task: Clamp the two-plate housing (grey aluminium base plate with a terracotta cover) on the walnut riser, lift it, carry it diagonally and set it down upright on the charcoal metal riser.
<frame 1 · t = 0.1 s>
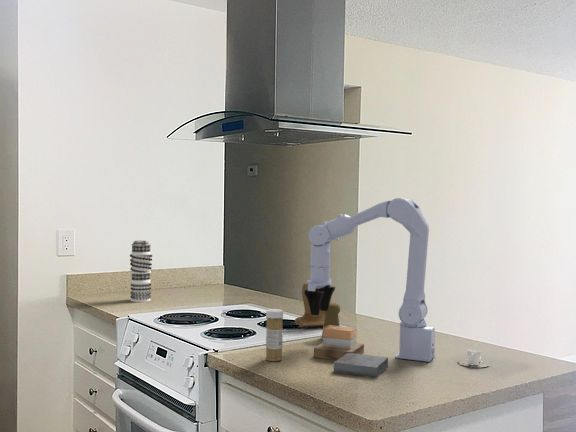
hand: (319, 312, 183), 10 cm above the counter, tool pointing down, fingers open, 7 cm apart
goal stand: (361, 369, 159), on the counter
housing: (339, 345, 174), point 2 cm above the counter, touching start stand
olive tapered column: (331, 338, 195), on the counter
tan boot: (313, 326, 214), on the counter
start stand: (339, 354, 174), on the counter
decorative candle: (140, 300, 262), on the counter
teacup and saucer: (484, 366, 166), on the counter
sprinkles bottle: (273, 360, 167), on the counter
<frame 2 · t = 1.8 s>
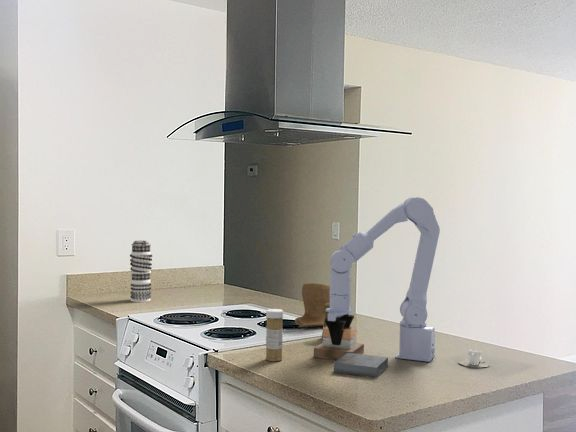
hand: (339, 342, 174), 3 cm above the counter, tool pointing down, fingers closed on housing, 5 cm apart
housing: (339, 345, 174), point 2 cm above the counter, touching gripper, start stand
everything else where it was.
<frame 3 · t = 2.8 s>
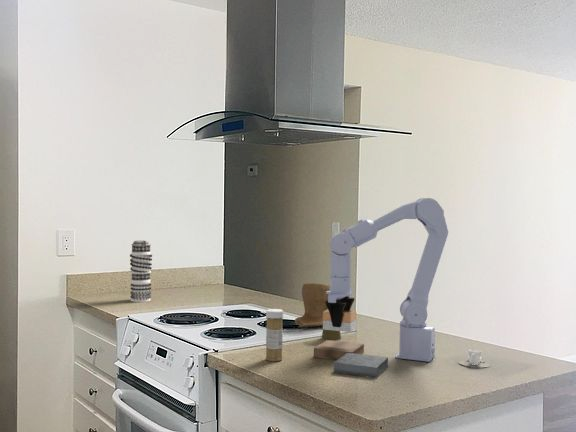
hand: (339, 325, 174), 8 cm above the counter, tool pointing down, fingers closed on housing, 5 cm apart
housing: (339, 329, 174), point 7 cm above the counter, touching gripper
everything else where it was.
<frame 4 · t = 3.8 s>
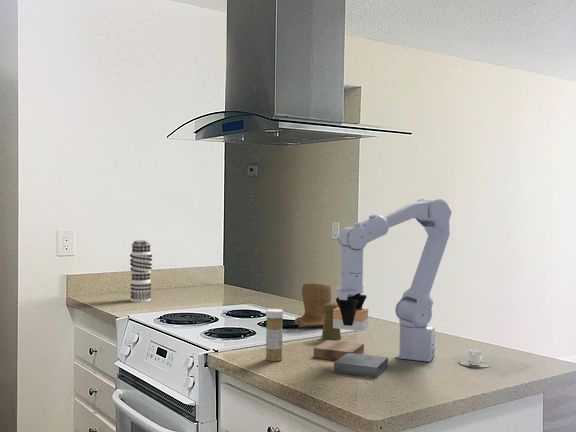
hand: (351, 323, 166), 10 cm above the counter, tool pointing down, fingers closed on housing, 5 cm apart
housing: (350, 327, 166), point 9 cm above the counter, touching gripper
everything else where it was.
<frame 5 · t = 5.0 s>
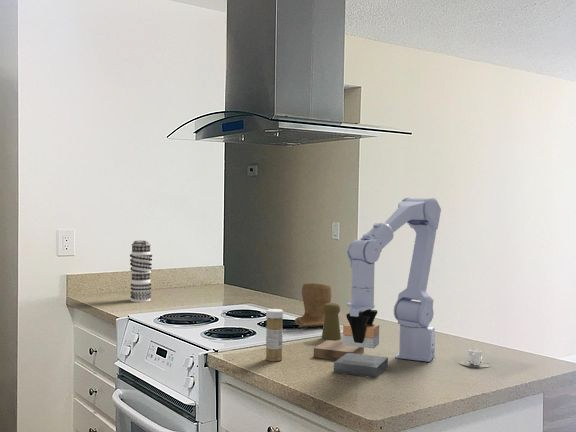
hand: (361, 340, 159), 8 cm above the counter, tool pointing down, fingers closed on housing, 5 cm apart
housing: (360, 344, 159), point 6 cm above the counter, touching gripper
everything else where it was.
when the fingers open (4 cm above the counter, at t = 6.0 s): housing stays where it is, resting on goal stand.
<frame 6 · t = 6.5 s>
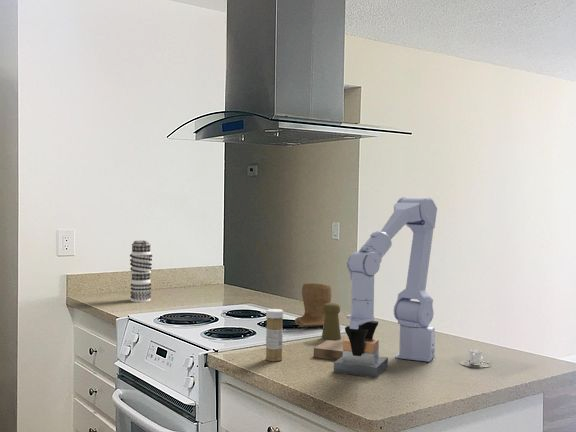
hand: (361, 352, 159), 4 cm above the counter, tool pointing down, fingers open, 7 cm apart
housing: (360, 359, 159), point 2 cm above the counter, touching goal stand
everything else where it was.
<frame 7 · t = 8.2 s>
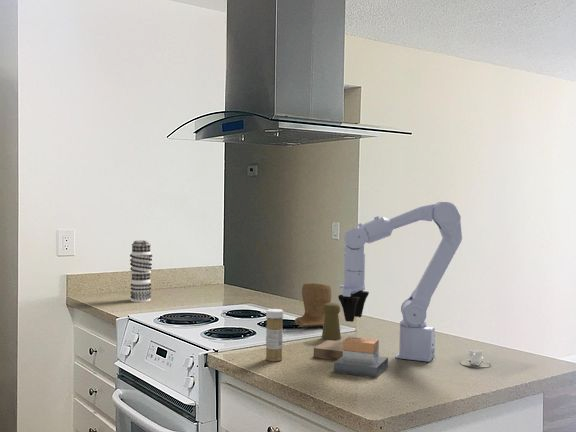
hand: (353, 319, 175), 10 cm above the counter, tool pointing down, fingers open, 7 cm apart
nothing on the counter moved.
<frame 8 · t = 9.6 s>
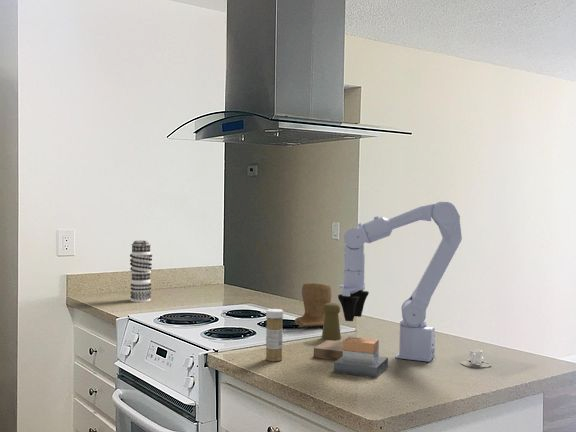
hand: (353, 318, 175), 10 cm above the counter, tool pointing down, fingers open, 7 cm apart
nothing on the counter moved.
at the end: housing 0.2 cm off-centre on the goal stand, point 2.5 cm above the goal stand's base; housing tilted 0°; the gripper is holding nothing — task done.
